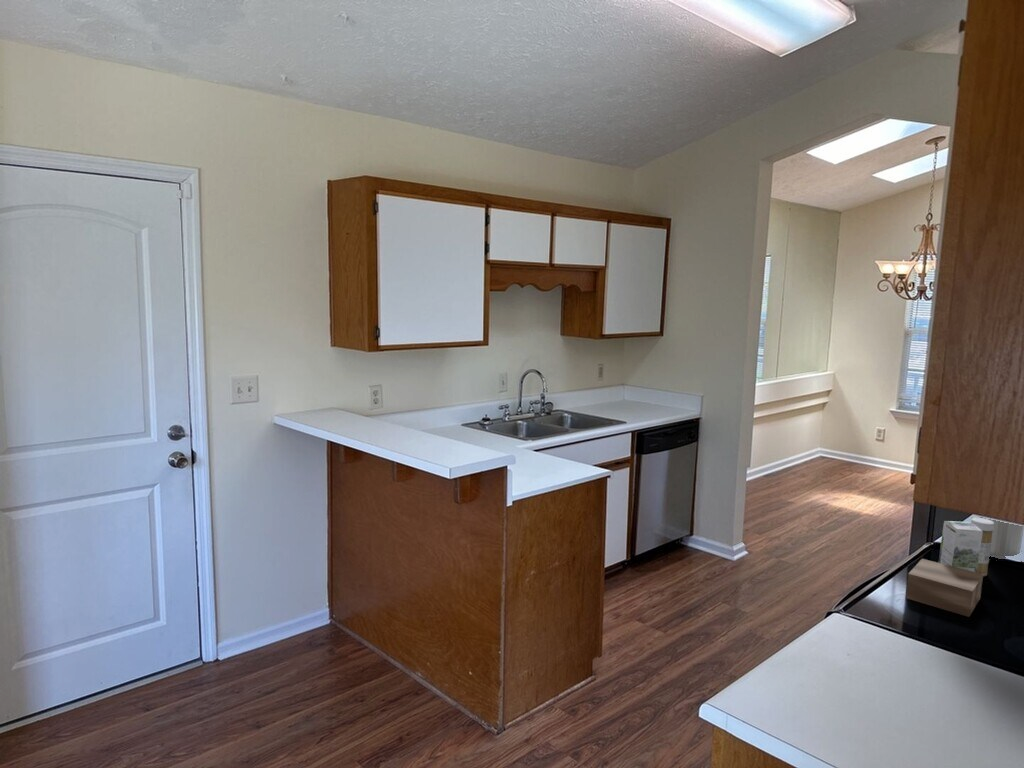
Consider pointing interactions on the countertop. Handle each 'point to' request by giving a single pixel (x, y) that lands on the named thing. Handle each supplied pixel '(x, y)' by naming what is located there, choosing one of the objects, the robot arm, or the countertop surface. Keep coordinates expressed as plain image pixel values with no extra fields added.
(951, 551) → the syrup box
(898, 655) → the countertop surface
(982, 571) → the sprinkles bottle
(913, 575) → the walnut block
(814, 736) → the countertop surface
